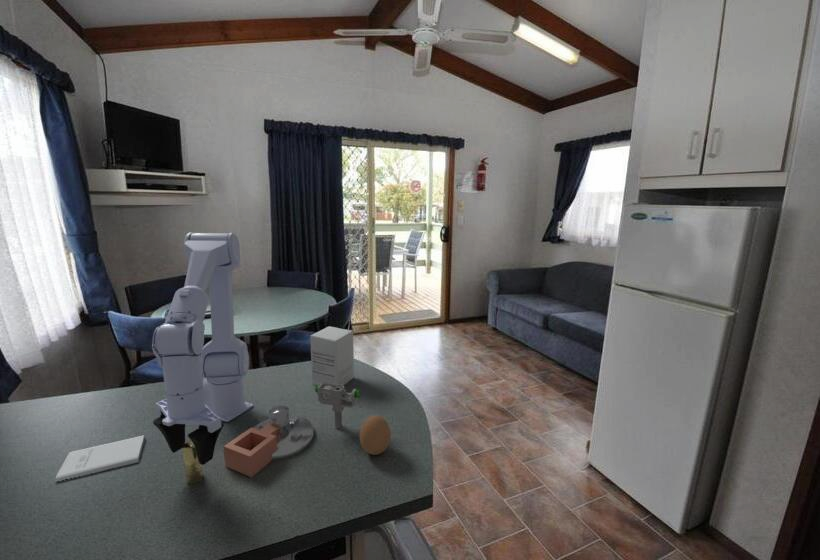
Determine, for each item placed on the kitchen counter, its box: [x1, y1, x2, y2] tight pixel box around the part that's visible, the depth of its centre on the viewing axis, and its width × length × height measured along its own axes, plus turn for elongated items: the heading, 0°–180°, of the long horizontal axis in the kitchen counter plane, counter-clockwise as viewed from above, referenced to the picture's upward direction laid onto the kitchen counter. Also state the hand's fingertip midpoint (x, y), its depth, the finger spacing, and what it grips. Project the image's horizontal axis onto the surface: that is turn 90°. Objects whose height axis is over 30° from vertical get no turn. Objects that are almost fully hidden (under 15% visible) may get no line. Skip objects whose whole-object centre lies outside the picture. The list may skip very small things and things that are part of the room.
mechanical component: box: [314, 383, 361, 430], centre depth 85 cm, size 3×10×10 cm, turn 78°
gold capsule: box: [181, 440, 204, 484], centre depth 69 cm, size 3×3×7 cm
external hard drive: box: [55, 434, 146, 483], centre depth 74 cm, size 2×8×12 cm
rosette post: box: [252, 404, 314, 461], centre depth 81 cm, size 14×14×7 cm
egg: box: [359, 414, 392, 456], centre depth 77 cm, size 6×6×8 cm
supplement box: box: [309, 326, 355, 387], centre depth 106 cm, size 9×9×15 cm
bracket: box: [223, 423, 281, 478], centre depth 75 cm, size 7×10×4 cm
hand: (192, 455), depth 68 cm, fingers open, 7 cm apart
